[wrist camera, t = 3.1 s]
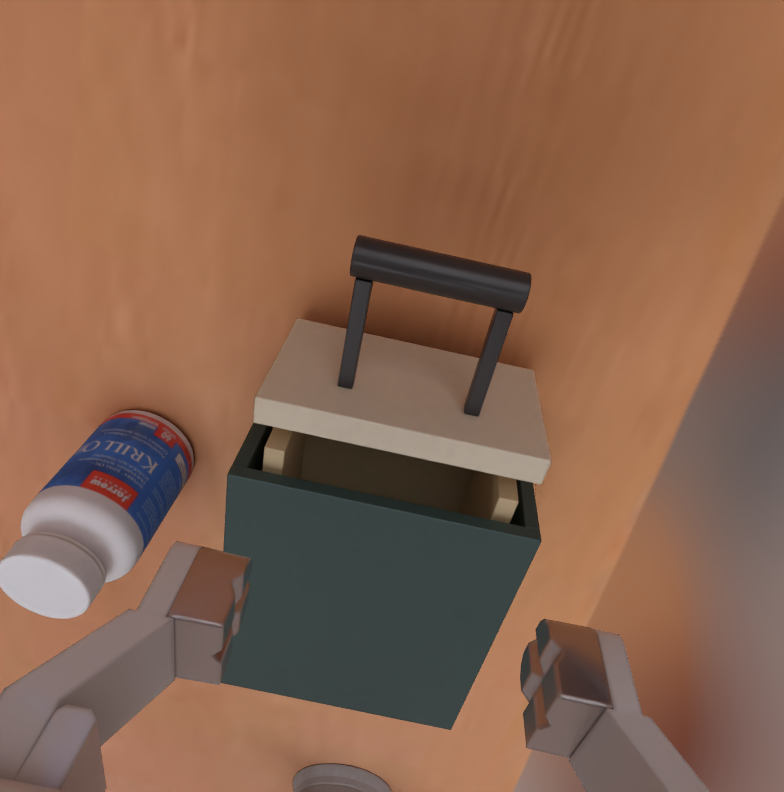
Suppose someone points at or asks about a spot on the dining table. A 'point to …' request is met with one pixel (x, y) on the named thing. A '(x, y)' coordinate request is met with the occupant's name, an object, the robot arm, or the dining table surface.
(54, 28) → the dining table surface
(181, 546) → the robot arm
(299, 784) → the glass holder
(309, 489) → the cabinet
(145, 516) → the pill bottle
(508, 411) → the drawer
